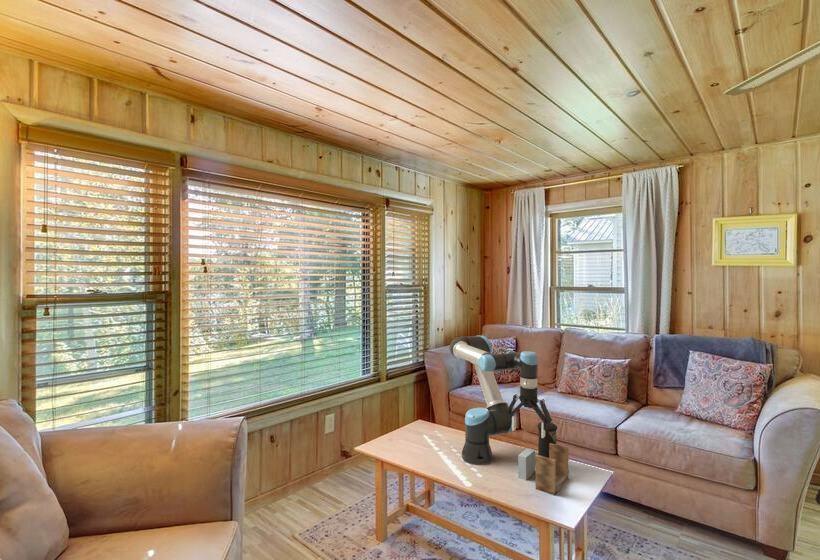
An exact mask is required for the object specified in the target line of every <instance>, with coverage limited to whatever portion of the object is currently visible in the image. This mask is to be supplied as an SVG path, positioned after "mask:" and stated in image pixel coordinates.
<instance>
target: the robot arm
mask: <svg viewBox="0 0 820 560" xmlns="http://www.w3.org/2000/svg"><path fill="white" fill-rule="evenodd" d="M491 343H492V342H490V340H489V338H488V337H486V336H485V335H471V336H469V335H468V336H458V337H455V338H454V339H453V340H451V342H450V344H449V353H450V354H451V355H452V357H454V358H456V359H458V360H465V361H468V362H470V363H471V364H473V367H474V369H475V372H476V376H477V379H478V382H479V384H480V387H481V390H482V394H483V398H484V399H485V400H484V401H485V403H486V407H473V408H471V409H468V410H467V412H465V417H464V433H465V435H464V437H465V440H464V444H463V447H462V450H461V458H462V460H463V461H464V462H465V463H468V464H471V465H481V466H482V465H487V464H490V463H492V462H493V460H494V454H493V450H492V447H491V444H490V436H496V435H497V436H498V435H502V434H508V433H512V432H515V430H516V429H517V425H518V417H517V412H518V411H519V410H520V409H521V408H522V407H524V408H529V409H532V410H534V412H535V413H536V414H537V415H538V417H539V419H540V420H541V422H542V429H541V438H544V437H545V431H546V430H547V423H550V422H551V423H552V421H553V419H552V417H551V414H550V413H549V411H548V408H547V406H546V400H545V399H544V398H542V399H539V398H538V375H539V373H538V371H539V368H538V367H539V361H538V353H537V352H535V351H530V350H529V351H524V350H523V351H521V352H517V351H513V350H508V351H506V352H504V353H492V350H493V349H492V344H491ZM506 370H518V371H519V374H520V375H519V376H520V379H519V385H520V387H519V394H517V393H516V394H514V395H512V400H511V402H510V404H509V403H508V402H506V401H504V400H503V396H502V393H501V389H500V388H499V384H498V381H497V380H496V377H495V374H494V372H495V371H506ZM518 400H519V401H520V403H519V404H518V405H517V406H516V407H515V408H514V406H515V405H516V403H517V401H518ZM538 404H539V405H540V407H539V405H538Z"/></svg>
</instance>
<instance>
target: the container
mask: <svg viewBox="0 0 820 560" xmlns="http://www.w3.org/2000/svg"><path fill="white" fill-rule="evenodd" d="M542 422H543V421H541V422H538V423H537V430H538V446H537V447H538V449H537V450H538V451H537V455H540V456H544V457H547V458H549V444H550V443H552V444H556V445H558V444H557V429H558V426H557V424H556V423H554V422H552V421H551V422H550V423H547V430H546V431H545V437H544V438H541V429H542Z"/></svg>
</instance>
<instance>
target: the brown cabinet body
mask: <svg viewBox="0 0 820 560" xmlns="http://www.w3.org/2000/svg"><path fill="white" fill-rule="evenodd" d="M556 444H557V443H556ZM556 444H552V443H550V444H549V458H547V457H544V456H540V455H538V454H535V490H538V491H541V492H543V493H546V494H549V495H552V496H555V495H556V494H558V492H559V491H560V490H561V489H562V488H563V487H564V485H565V484H566V483H567V481H569V447H568V446H564V445H563V446H562V445H560V444H557V445H556Z"/></svg>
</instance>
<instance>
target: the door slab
mask: <svg viewBox="0 0 820 560" xmlns="http://www.w3.org/2000/svg"><path fill="white" fill-rule="evenodd" d="M517 457H518V458H517V462H518V463H517V465H518V467H517V469H518V471H517V473H518V476H517V477H518V479H521V480H524V481H527V480H528V479H529V478H530V477H531V476H532V475H533V474H534V473H536V450H535V449H532V448H526V449H524V450H523V451H522V452H520V454H518V455H517Z"/></svg>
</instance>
